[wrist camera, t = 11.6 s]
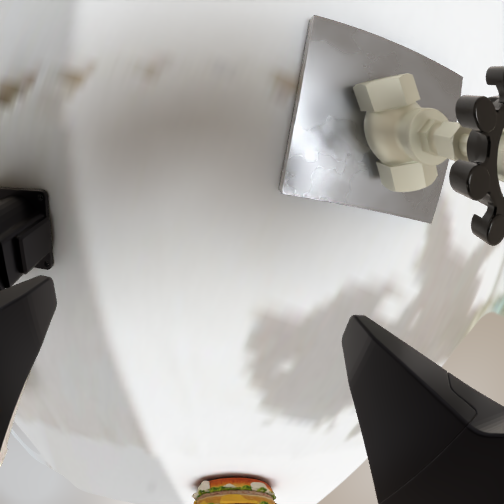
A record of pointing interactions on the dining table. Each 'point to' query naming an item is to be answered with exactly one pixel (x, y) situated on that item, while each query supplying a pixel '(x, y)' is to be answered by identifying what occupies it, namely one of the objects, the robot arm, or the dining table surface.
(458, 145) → the valve
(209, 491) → the burger
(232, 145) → the dining table surface
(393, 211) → the steel seat plate
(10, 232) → the robot arm
